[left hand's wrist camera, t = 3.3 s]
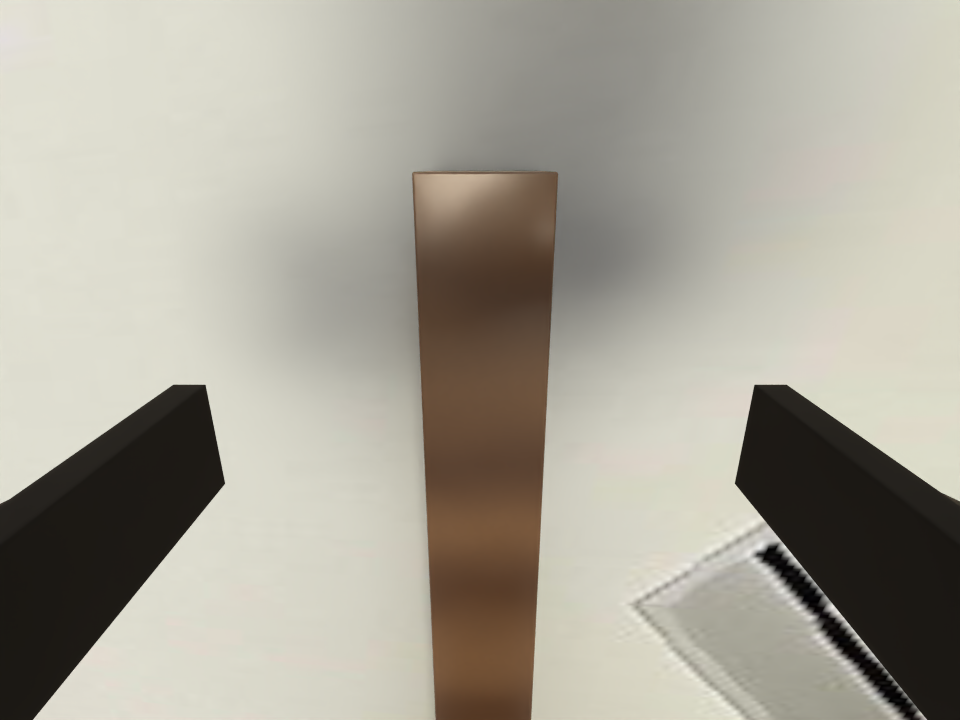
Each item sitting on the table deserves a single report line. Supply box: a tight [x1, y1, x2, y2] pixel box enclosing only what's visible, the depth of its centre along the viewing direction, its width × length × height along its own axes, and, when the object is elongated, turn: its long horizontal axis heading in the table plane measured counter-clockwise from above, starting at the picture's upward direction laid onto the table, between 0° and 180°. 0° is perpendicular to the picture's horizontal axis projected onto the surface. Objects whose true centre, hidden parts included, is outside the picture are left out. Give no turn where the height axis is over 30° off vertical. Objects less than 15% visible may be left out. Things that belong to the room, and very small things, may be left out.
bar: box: [412, 171, 558, 720], centre depth 30 cm, size 54×5×7 cm, turn 0°
